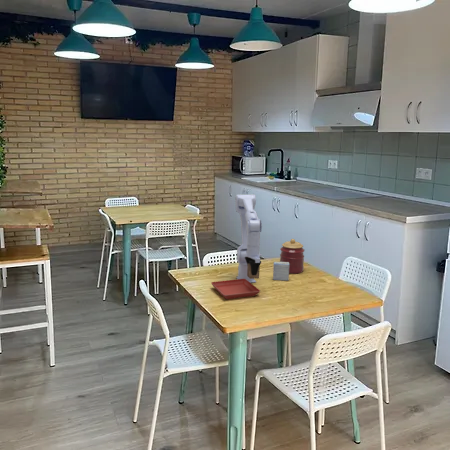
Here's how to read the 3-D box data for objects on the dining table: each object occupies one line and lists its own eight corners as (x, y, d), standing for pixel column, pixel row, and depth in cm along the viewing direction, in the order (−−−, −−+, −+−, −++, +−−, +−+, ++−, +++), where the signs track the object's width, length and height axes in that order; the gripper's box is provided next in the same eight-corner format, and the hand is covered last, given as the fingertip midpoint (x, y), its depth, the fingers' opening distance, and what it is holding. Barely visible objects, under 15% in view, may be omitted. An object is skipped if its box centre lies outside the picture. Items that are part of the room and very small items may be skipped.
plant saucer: (260, 297, 207) (261, 290, 206) (224, 302, 200) (224, 294, 199) (244, 284, 223) (244, 278, 222) (210, 288, 216) (210, 282, 216)
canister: (277, 272, 242) (278, 240, 238) (281, 265, 254) (282, 235, 250) (301, 275, 238) (303, 242, 235) (304, 268, 250) (306, 237, 247)
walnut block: (247, 275, 214) (247, 263, 213) (256, 275, 215) (256, 263, 214) (250, 278, 210) (250, 266, 209) (259, 278, 211) (259, 265, 210)
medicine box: (288, 278, 233) (289, 262, 231) (288, 280, 229) (289, 264, 227) (273, 277, 234) (273, 261, 232) (273, 280, 229) (273, 263, 228)
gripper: (266, 248, 204) (265, 277, 206) (256, 241, 217) (255, 268, 220) (251, 249, 202) (250, 278, 205) (242, 241, 216) (241, 269, 218)
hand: (252, 273), depth 212 cm, fingers closed on walnut block, 4 cm apart
